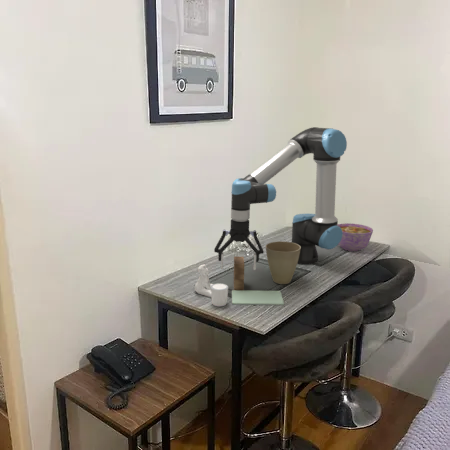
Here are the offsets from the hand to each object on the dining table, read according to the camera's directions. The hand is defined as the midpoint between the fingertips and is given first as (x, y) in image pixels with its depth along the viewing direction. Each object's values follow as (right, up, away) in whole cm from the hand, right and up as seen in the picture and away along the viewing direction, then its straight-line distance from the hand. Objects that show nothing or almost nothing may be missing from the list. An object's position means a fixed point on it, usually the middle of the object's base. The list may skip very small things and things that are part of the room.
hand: (238, 268), depth 189 cm
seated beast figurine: (-14, -10, -3) cm, 17 cm away
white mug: (-8, -12, -13) cm, 20 cm away
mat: (+7, -11, -8) cm, 15 cm away
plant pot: (+19, -7, +9) cm, 22 cm away
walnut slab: (0, -8, +2) cm, 8 cm away
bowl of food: (+62, +5, +54) cm, 82 cm away
